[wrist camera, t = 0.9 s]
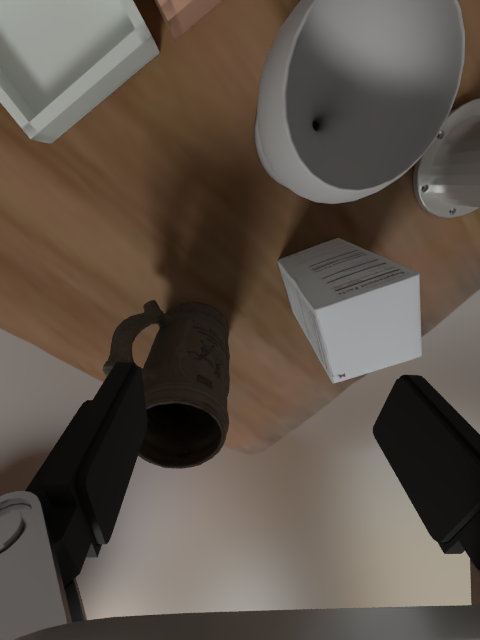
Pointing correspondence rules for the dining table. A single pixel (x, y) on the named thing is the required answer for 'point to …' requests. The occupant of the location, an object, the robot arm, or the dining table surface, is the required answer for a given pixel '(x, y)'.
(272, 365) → the dining table surface
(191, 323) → the beer stein
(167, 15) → the terracotta tub
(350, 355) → the supplement box
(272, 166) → the chalice
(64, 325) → the dining table surface
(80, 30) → the grey tub
